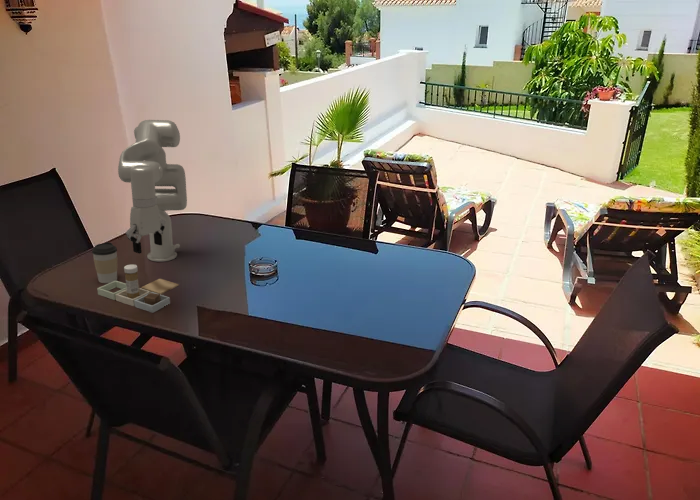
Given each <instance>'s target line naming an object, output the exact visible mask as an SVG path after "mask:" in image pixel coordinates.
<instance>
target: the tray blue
mask: <svg viewBox="0 0 700 500" xmlns="http://www.w3.org/2000/svg"><path fill="white" fill-rule="evenodd" d="M151 293H154V292H151ZM154 294H157V293H154ZM147 295H148V294H147ZM147 295H145V296H147ZM145 296H143V297H141V298H139V299H137V300H135V306H134V307H135V308H137V309H140V310H144V311H147V312H149V313H153V314H154V313H155V312H157V311H159V310H162V309H163V308H165V307H167V306H168V304H169V305H170V304H171V298H170V296H166V295H164V294H161V295H160V302H158V303H156V304H154V305H149V304H146V303H145V302H144V297H145ZM166 305H167V306H166ZM164 306H165V307H164Z"/></svg>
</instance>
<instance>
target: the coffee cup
mask: <svg viewBox="0 0 700 500" xmlns="http://www.w3.org/2000/svg"><path fill="white" fill-rule="evenodd" d="M91 249H92V250H91V251H92V252H91V253H92V255H93V262H94V268H95V272H96V274H97V279H98V282H99V283H102V284H109V283H111V282H113V281H118V255H117V254H118V253H117V252H118V249H117V246H116V245H113V243H112V242H109V241H108V242H103V243H98V244H96V245H95V246H93V248H91Z"/></svg>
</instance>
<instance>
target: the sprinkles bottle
mask: <svg viewBox="0 0 700 500" xmlns="http://www.w3.org/2000/svg"><path fill="white" fill-rule="evenodd" d="M138 269H139V268H138V265H137V264H127V265H125V266H124V267H123V270H124V271H123V272H124V274H125V276H124V277H125V284H126V288H127V297H128V298H131V299H134V298H136V297H138V296H140V294H139V288H140V283H139V273H138V272H139V271H138Z"/></svg>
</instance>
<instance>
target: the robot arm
mask: <svg viewBox="0 0 700 500" xmlns="http://www.w3.org/2000/svg"><path fill="white" fill-rule="evenodd" d="M133 130H134V131H133V133H134V134H133V135H134V138H135V143H132V144H130V145H129V146H128V147H127V148H125V149H124V150H123V151H122V152H121V154H120V156H119V161H118V167H117V172H118V173H117V175H118V177H119V180H120V181H122V182H123V183H128V184H129V183H130V186H131V199H132V206H131V209H130V216H129V226H130V227H129V228H128V229H127V230H126V231H125V235H126V238H128V240H129V241H130V242H131V243H132V248H133V249H132V250H133V251H132V252H134V253H137V254H139V255H140V254H142V251H143V250H142V244H141V243H142V242H141V239H142V238H143V237H145V236H148V235H149V244H150V245H149V246H150V248H149V249H150V252H148V253H147V255H146V256H147V259H148V260H150V261H152V262H160V263H161V262H169V261H172V260H174V259H175V258H177V257H178V253H177V251H176V249H179V248H181V244H180V243H176V244H173V230H172V219H171V216H170V215H169V214H168V213H167V212H169V211H183V210H185V209H186V208H187V205H188V197H187V196H188V195H187V182H186V181H187V180H186V171H185V169H184V167H183V165H180V164H177V163H176V164H174V163H172V164H171V163H168V162H167V154H166V151H165V150H164V148H177V147H178V146H179V144H180V142H181V135H180V130H179V127H178V126H177V124H176V123H175V122H174V121H172V120H167V119H165V120H163V119H162V120H161V119H145V120H142V121H141V122H139V123H138V125H137V126H136V127H135V128H134V129H133ZM156 187H173V188H156ZM166 211H167V212H166Z"/></svg>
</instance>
